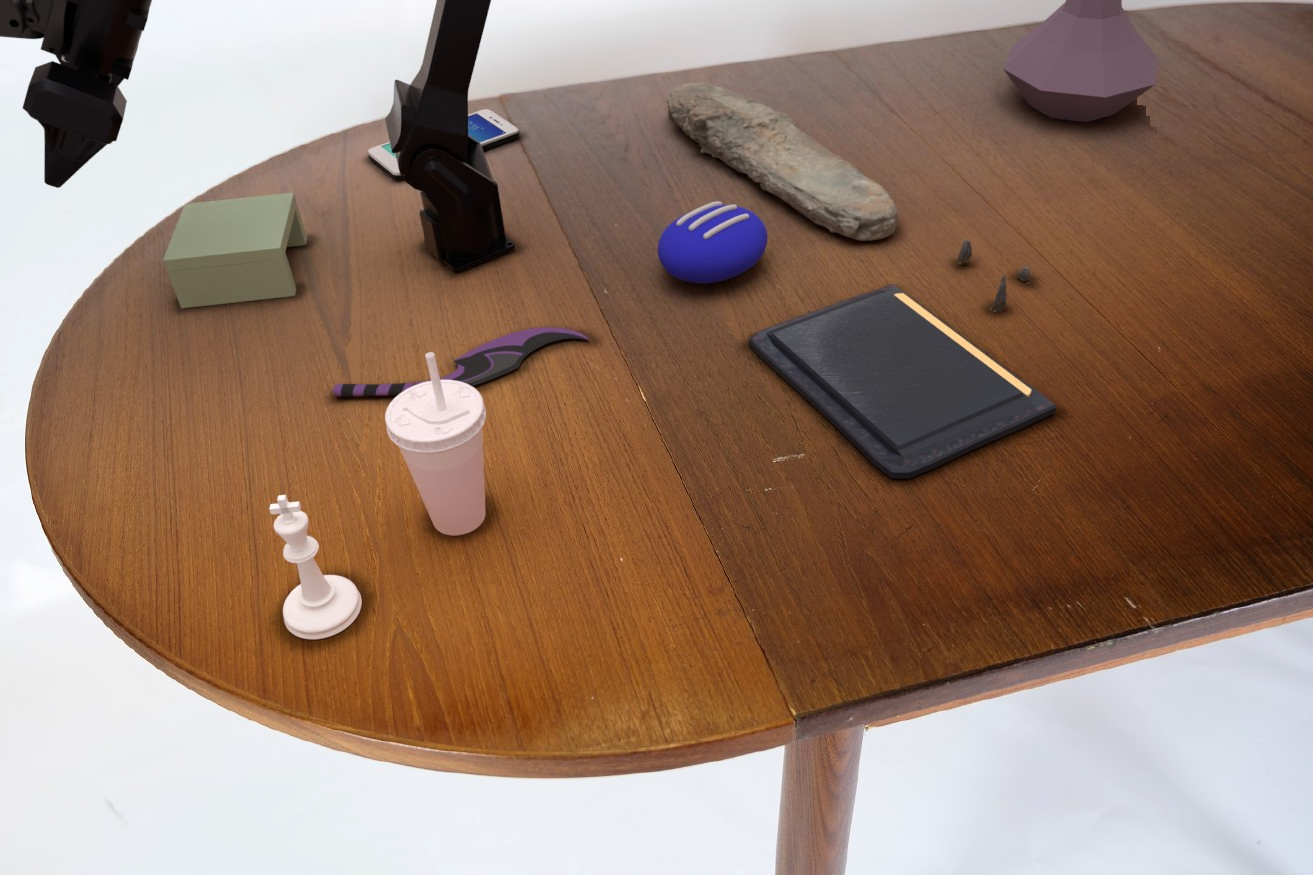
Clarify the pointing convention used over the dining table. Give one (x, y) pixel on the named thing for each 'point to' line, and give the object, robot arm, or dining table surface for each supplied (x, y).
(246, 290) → the green box
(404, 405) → the smoothie
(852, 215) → the long grey stone
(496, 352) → the knife
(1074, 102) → the flask
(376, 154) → the smartphone
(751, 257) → the decorative object
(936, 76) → the dining table surface
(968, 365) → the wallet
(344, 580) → the chess piece
